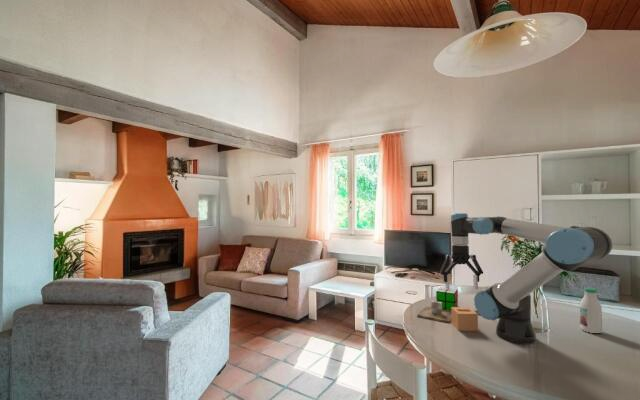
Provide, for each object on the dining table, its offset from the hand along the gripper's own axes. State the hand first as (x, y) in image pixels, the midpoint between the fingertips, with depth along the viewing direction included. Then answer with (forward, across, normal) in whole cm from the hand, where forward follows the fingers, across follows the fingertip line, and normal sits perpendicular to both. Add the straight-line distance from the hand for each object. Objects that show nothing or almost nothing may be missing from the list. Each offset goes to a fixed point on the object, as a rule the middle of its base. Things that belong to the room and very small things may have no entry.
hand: (461, 288), depth 149 cm
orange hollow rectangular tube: (+19, -1, -1) cm, 19 cm away
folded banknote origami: (+19, -18, -18) cm, 32 cm away
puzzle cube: (+18, -4, -29) cm, 34 cm away
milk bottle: (+20, -58, +4) cm, 61 cm away
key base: (+18, +7, -17) cm, 25 cm away
